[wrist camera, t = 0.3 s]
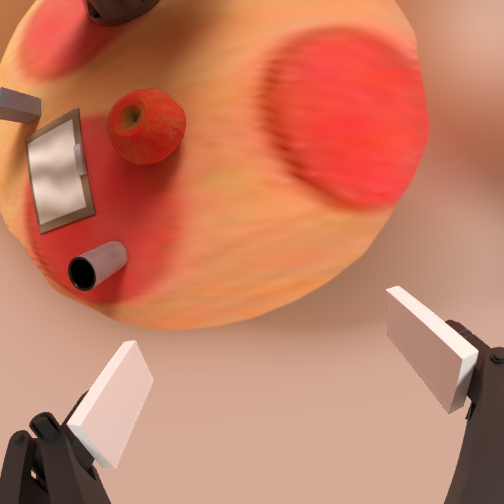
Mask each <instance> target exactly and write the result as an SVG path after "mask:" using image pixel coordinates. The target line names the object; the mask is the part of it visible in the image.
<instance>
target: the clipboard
mask: <svg viewBox="0 0 504 504" xmlns="http://www.w3.org/2000/svg"><path fill="white" fill-rule="evenodd" d="M25 142H26V153H27V163H28V171H29V178H30V185H31V191H32V196H33V202H34V207H35V212H36V217H37V221H38V226H39V230H40V234H41V233H44V232H47V231H49V230H52V229H54V228H57V227H60V226H62V225H65V224H68V223H71V222H73V221H76V220H79V219H82V218H85V217H88V216H90V215H93V214H96V211H95V206H94V202H93V197H92V193H91V188H90V183H89V177H88V172H87V166H86V160H85V154H84V147H83V140H82V132H81V124H80V114H79V108H77V109H75V110H73V111H71V112H69V113H67V114H65V115H64V116H62V117H60V118H58V119H56V120H55V121H53V122H51V123H49V124H48V125H46V126H44V127H43V128H41V129H39V130H38V131H36V132H34V133H33V134H31V135H30V136H28V137H27V138H25Z"/></svg>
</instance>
